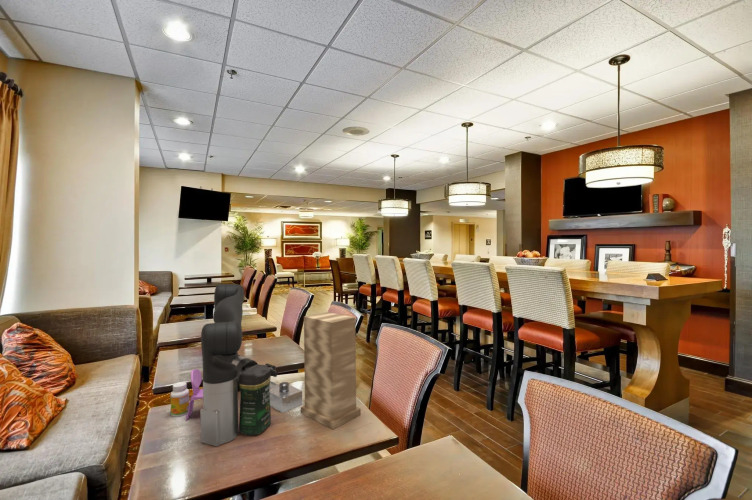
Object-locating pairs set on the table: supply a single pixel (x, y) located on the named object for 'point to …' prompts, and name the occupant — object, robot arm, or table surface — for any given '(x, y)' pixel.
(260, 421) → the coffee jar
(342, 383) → the oak pedestal
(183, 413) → the supplement bottle
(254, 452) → the table surface
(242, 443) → the table surface
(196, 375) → the toy chair
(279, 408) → the lever cap
